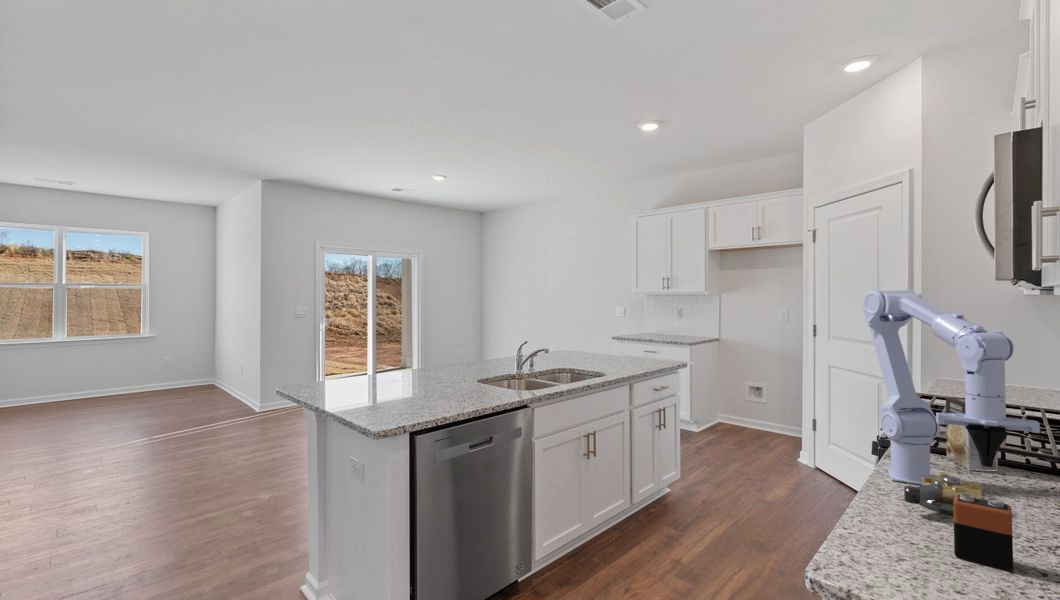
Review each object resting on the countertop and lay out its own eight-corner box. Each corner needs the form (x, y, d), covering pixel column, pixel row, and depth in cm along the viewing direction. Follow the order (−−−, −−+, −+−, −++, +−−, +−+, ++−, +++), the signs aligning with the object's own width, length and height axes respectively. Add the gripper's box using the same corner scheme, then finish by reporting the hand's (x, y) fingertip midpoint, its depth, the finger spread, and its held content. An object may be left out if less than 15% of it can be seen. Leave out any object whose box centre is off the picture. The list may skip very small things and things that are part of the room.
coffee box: (945, 459, 127) (943, 396, 127) (973, 460, 125) (972, 397, 125) (969, 471, 118) (967, 404, 118) (1000, 472, 116) (999, 404, 116)
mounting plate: (909, 489, 107) (909, 482, 107) (983, 500, 101) (983, 492, 101) (918, 509, 97) (918, 501, 97) (1000, 523, 91) (1000, 514, 91)
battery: (1013, 573, 74) (1011, 507, 74) (954, 557, 79) (952, 495, 79) (1012, 561, 78) (1011, 498, 78) (955, 547, 82) (954, 488, 82)
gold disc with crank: (941, 485, 105) (940, 468, 105) (992, 501, 96) (992, 482, 96) (884, 497, 99) (884, 479, 99) (934, 515, 90) (933, 495, 90)
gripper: (940, 394, 95) (941, 465, 95) (1045, 401, 87) (1046, 478, 87) (933, 389, 101) (935, 455, 101) (1031, 395, 93) (1032, 466, 93)
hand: (986, 465), depth 95 cm, fingers closed
